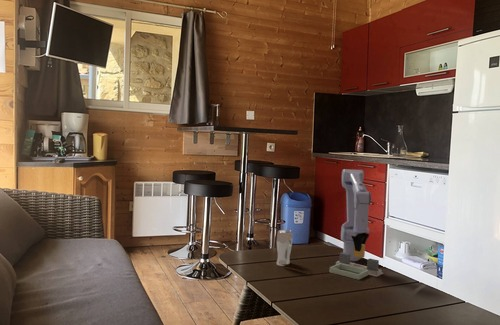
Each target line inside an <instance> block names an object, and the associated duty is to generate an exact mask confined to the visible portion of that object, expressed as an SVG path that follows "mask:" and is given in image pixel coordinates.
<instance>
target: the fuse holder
mask: <svg viewBox="0 0 500 325" xmlns="http://www.w3.org/2000/svg"><path fill="white" fill-rule="evenodd" d="M339 263H340V262H339V260H337V261H335V265H337V264H339ZM341 264H344V263H341ZM345 265H349V266H353V267H357V268H362V269H366V270H369V269H367V265H362V264H359V263H355V262H350V264H345ZM383 274H384V272H382V269H379V268H378V271H373V270H369V272H368V276H369V275H370V276H373V277H380V276H381V275H383Z"/></svg>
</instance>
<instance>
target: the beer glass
mask: <svg viewBox="0 0 500 325" xmlns="http://www.w3.org/2000/svg"><path fill="white" fill-rule="evenodd" d="M292 247H293V231H292V230H290V229H289V230H288V229H279V230H277V235H276V250H277V260H276V263H275V264H276V265H277V266H279V267H286V265H289V264H291V262H290V256H291V251H292Z"/></svg>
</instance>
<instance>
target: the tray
mask: <svg viewBox="0 0 500 325" xmlns="http://www.w3.org/2000/svg"><path fill="white" fill-rule="evenodd" d="M328 270H329V273H331V274H335V275H338V276H342V277H345V278H350V279H354V280H361V279H363V278H365V277H367V276H369V274H368V272H369V270H366V269H362V268H357V267H353V266H349V265H345V264H341V263H339V264H337V265H336V264H335V265H332V266H329V269H328Z"/></svg>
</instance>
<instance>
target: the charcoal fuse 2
mask: <svg viewBox="0 0 500 325" xmlns="http://www.w3.org/2000/svg"><path fill="white" fill-rule="evenodd" d="M379 261H380V260H378V259H374V258H367V264H366V266H367V269H369V270H373V271H378V269H379V265H380V262H379Z"/></svg>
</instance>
